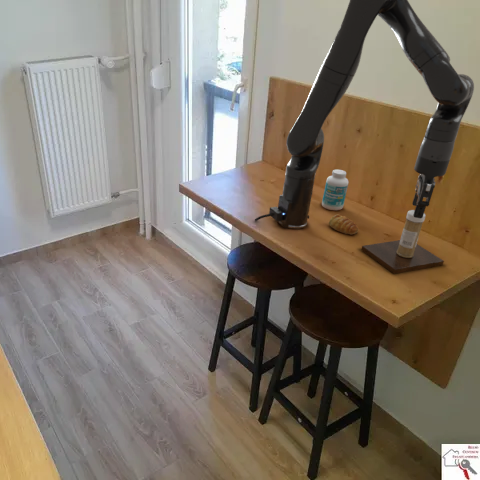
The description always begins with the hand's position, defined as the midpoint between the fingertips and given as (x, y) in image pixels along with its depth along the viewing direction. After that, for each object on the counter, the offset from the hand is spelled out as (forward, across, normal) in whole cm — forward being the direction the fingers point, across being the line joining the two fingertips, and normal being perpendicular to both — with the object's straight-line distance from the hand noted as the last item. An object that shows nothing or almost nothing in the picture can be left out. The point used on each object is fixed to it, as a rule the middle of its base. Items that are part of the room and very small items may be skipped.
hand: (416, 211), depth 131 cm
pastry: (+16, -14, -18) cm, 27 cm away
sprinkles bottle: (+14, 0, 0) cm, 14 cm away
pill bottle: (+16, -30, -23) cm, 41 cm away
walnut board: (+15, -1, 0) cm, 15 cm away
